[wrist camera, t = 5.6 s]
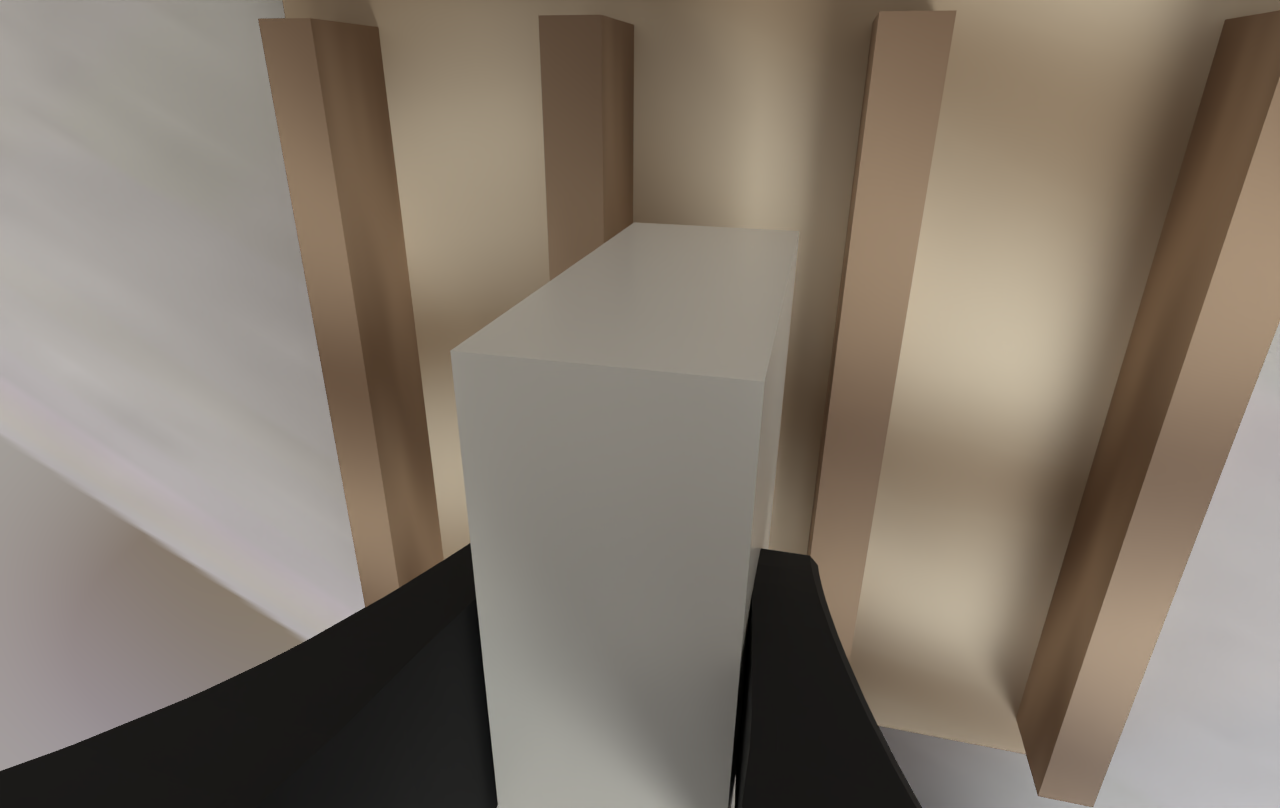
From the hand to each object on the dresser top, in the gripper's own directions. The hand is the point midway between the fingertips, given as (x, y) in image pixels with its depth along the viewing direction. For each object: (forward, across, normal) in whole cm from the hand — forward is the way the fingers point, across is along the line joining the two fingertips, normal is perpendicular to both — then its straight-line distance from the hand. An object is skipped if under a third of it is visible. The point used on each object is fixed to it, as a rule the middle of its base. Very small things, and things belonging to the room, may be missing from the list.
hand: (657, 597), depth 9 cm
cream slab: (+4, 0, 0) cm, 4 cm away
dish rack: (+7, 0, 0) cm, 7 cm away
